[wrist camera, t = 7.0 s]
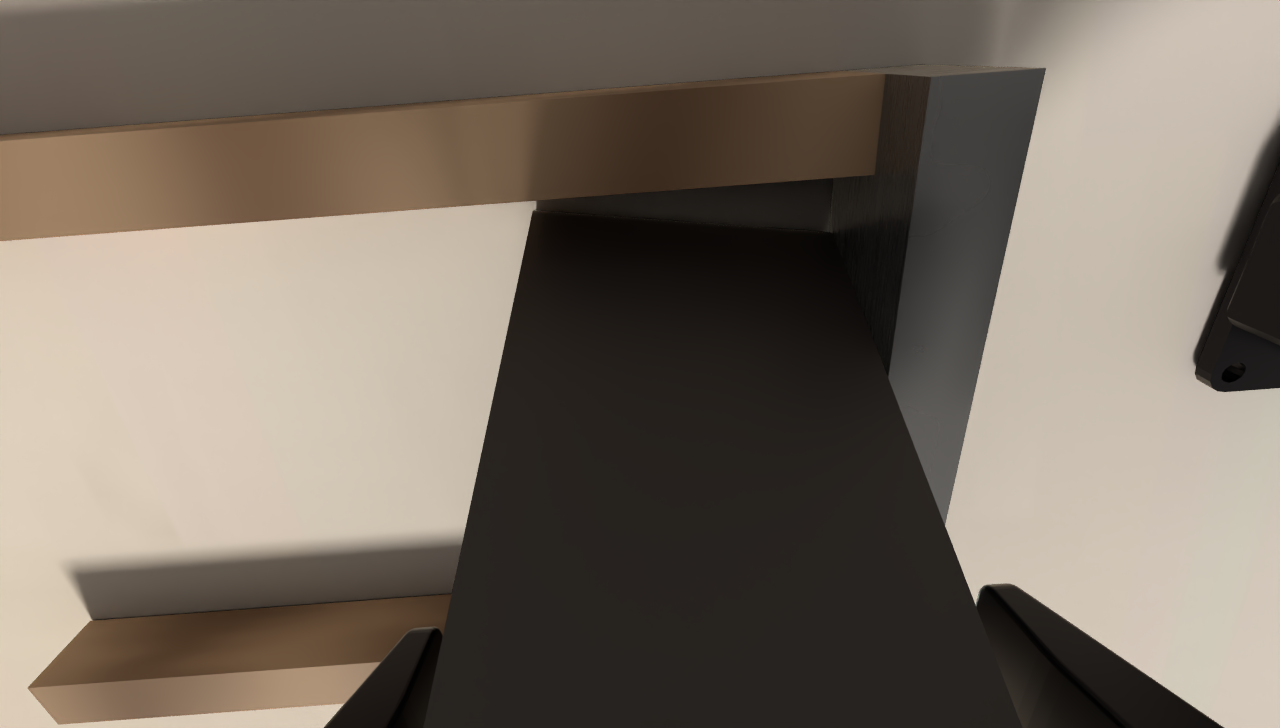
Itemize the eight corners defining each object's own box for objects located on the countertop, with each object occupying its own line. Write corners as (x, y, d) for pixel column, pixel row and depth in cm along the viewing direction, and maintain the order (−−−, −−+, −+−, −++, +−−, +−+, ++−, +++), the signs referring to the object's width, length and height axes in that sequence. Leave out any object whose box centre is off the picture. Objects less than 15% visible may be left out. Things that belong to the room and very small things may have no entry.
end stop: (923, 64, 11) (1045, 68, 8) (850, 601, 17) (901, 721, 14) (842, 70, 11) (931, 77, 8) (799, 605, 17) (838, 725, 14)
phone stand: (752, 552, 16) (1003, 1473, 6) (532, 542, 16) (361, 1521, 5) (828, 228, 12) (2202, 1352, 2) (535, 204, 12) (-181, 1507, 1)
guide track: (896, 66, 11) (951, 68, 9) (833, 603, 17) (857, 665, 16) (-245, 153, 11) (-412, 172, 9) (115, 656, 17) (58, 724, 16)
